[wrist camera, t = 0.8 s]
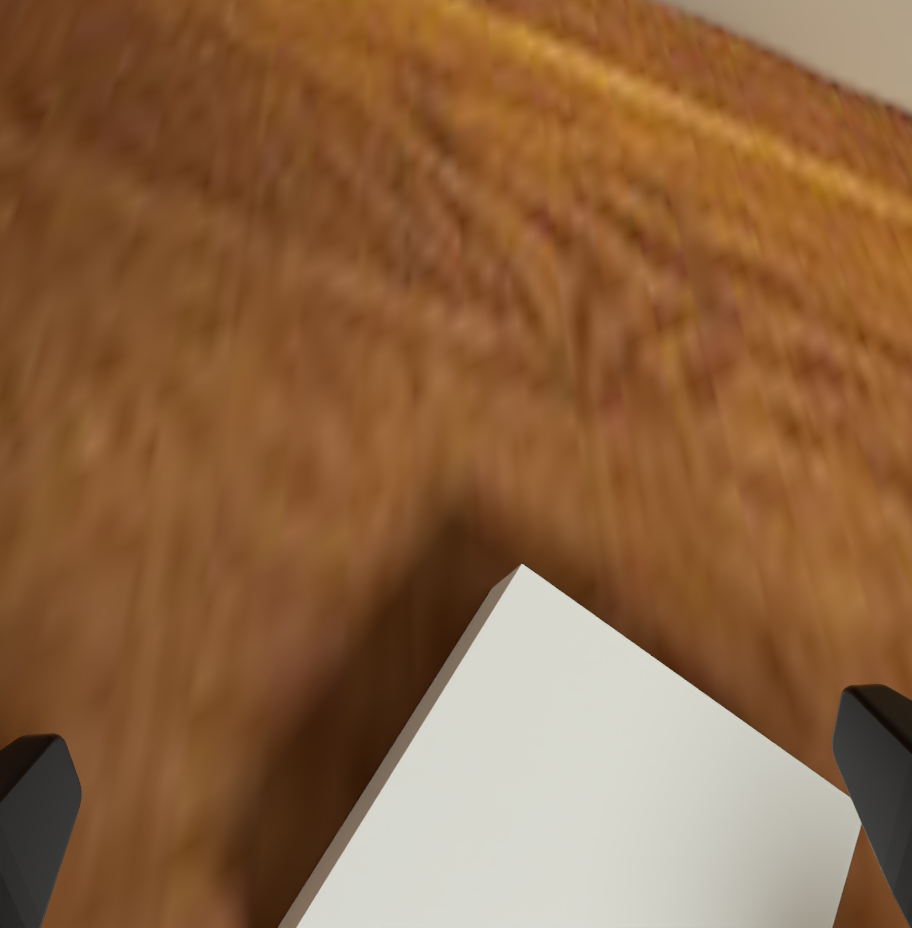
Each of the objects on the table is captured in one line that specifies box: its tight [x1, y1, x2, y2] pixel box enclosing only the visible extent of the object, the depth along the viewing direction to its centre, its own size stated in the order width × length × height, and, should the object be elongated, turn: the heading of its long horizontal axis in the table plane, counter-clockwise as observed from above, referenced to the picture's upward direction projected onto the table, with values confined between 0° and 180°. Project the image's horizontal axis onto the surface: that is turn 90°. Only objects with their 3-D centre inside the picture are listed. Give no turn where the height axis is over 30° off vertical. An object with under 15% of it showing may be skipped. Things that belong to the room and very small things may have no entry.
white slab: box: [278, 564, 862, 928], centre depth 19 cm, size 12×12×3 cm
